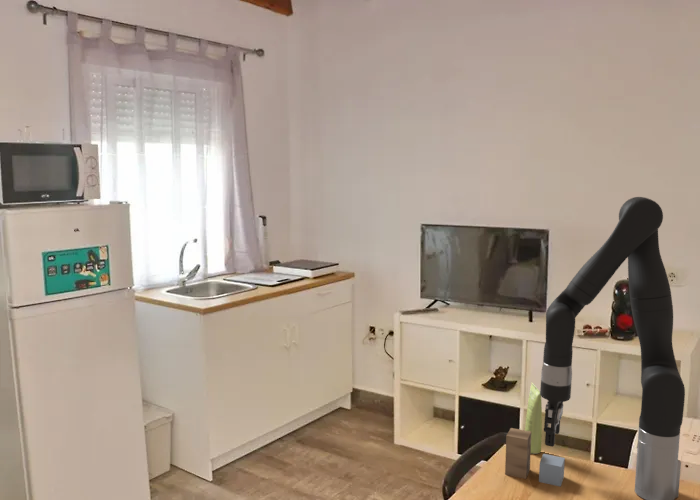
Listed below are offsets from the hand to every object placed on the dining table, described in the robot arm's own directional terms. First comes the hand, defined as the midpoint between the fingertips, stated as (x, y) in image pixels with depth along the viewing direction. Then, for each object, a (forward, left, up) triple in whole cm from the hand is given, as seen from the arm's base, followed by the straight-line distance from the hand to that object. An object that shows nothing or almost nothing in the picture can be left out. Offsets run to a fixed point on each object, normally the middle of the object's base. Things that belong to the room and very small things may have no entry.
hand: (552, 439), depth 165 cm
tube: (-5, -16, -11) cm, 20 cm away
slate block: (0, 0, -11) cm, 11 cm away
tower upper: (+6, -6, -6) cm, 10 cm away
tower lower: (+6, -6, -11) cm, 14 cm away
